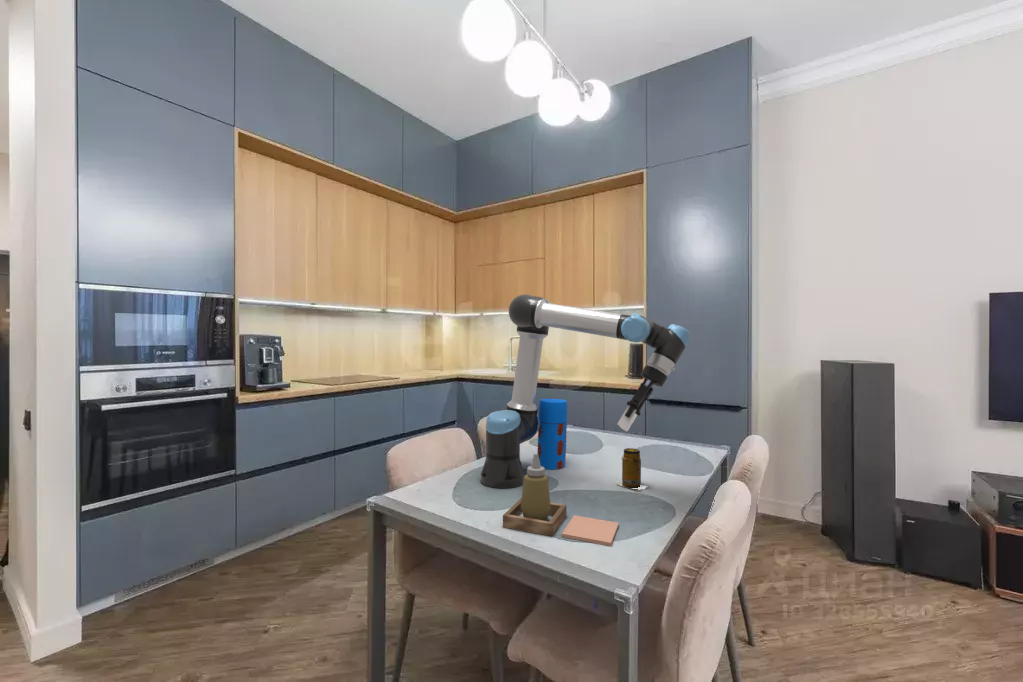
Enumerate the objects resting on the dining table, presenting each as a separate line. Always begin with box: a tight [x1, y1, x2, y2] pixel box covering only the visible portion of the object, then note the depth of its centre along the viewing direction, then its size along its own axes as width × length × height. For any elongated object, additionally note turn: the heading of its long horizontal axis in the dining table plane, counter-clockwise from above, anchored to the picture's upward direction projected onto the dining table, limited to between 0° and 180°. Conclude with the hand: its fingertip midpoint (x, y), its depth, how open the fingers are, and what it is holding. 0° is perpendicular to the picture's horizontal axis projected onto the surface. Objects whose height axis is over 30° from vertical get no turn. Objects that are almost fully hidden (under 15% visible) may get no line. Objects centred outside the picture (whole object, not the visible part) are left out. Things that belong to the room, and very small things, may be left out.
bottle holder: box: [502, 497, 567, 537], centre depth 115 cm, size 13×13×3 cm
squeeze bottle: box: [520, 453, 551, 521], centre depth 115 cm, size 8×8×18 cm
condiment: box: [616, 447, 643, 492], centre depth 143 cm, size 7×8×12 cm
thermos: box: [537, 398, 568, 470], centre depth 165 cm, size 11×11×25 cm
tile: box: [561, 514, 620, 547], centre depth 109 cm, size 12×12×1 cm
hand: (622, 428), depth 133 cm, fingers open, 13 cm apart
